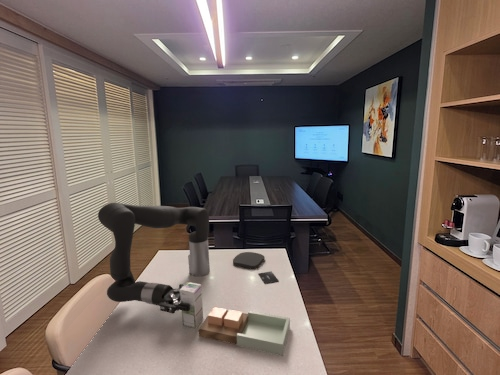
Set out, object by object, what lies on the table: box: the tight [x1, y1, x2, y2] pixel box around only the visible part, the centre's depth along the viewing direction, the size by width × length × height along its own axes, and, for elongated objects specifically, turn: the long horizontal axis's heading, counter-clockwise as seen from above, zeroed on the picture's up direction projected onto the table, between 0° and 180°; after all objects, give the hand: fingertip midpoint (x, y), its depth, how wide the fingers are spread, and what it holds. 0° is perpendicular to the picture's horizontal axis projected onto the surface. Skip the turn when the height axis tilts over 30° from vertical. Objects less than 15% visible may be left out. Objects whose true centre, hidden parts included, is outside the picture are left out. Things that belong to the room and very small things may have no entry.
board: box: [198, 309, 248, 346], centre depth 99 cm, size 14×12×3 cm
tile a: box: [207, 306, 228, 326], centre depth 100 cm, size 5×5×3 cm
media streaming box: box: [232, 251, 266, 270], centre depth 150 cm, size 15×15×3 cm
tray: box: [236, 310, 291, 357], centre depth 95 cm, size 15×13×4 cm
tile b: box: [224, 309, 243, 329], centre depth 98 cm, size 5×5×3 cm
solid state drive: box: [258, 270, 280, 285], centre depth 134 cm, size 7×10×1 cm
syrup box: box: [180, 281, 204, 329], centre depth 102 cm, size 6×6×14 cm
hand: (195, 300), depth 101 cm, fingers open, 8 cm apart
